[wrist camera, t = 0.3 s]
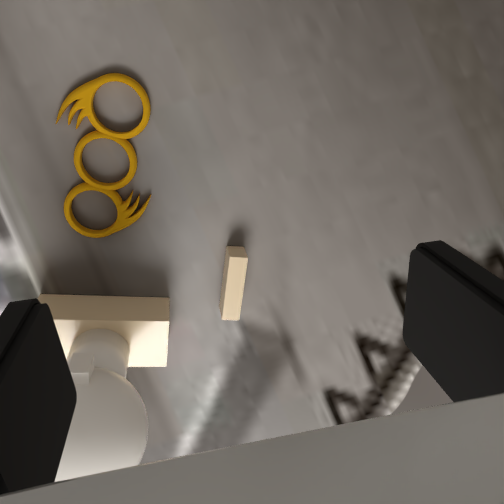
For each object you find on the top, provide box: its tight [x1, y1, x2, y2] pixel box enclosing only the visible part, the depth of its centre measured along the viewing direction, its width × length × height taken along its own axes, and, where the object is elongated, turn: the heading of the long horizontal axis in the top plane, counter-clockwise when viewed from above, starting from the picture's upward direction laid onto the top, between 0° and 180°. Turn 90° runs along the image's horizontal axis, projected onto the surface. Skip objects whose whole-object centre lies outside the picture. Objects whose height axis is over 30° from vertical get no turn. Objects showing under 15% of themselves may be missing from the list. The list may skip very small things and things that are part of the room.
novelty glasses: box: [56, 73, 151, 238], centre depth 41 cm, size 17×2×10 cm
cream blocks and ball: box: [38, 246, 248, 482], centre depth 39 cm, size 16×30×22 cm, turn 82°
